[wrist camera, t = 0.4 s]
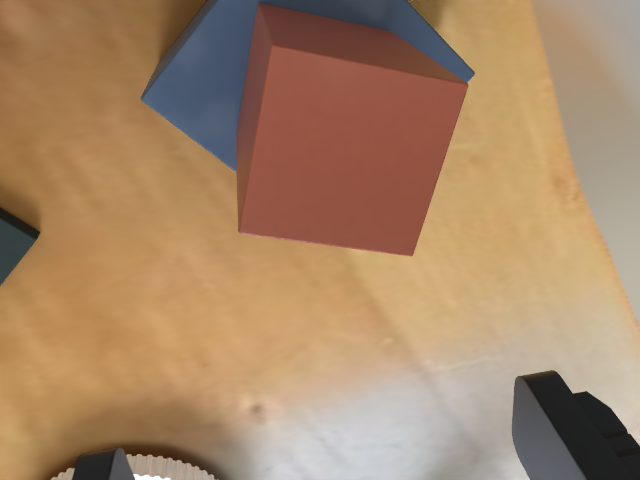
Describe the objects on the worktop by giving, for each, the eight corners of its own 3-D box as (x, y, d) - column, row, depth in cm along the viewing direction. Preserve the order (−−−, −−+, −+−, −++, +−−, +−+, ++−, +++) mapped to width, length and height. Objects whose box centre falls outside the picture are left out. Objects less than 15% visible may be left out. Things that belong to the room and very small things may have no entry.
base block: (156, 64, 27) (139, 99, 22) (287, -104, 25) (302, -111, 19) (304, 182, 31) (319, 236, 25) (430, 45, 28) (476, 74, 23)
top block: (235, 138, 23) (237, 234, 16) (257, 1, 21) (271, 43, 14) (359, 159, 24) (413, 257, 17) (393, 31, 22) (469, 84, 15)
